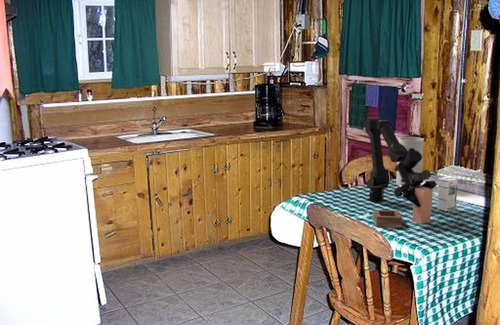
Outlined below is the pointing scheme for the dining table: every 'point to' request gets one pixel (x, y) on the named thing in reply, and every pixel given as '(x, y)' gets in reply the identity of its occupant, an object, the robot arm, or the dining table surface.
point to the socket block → (387, 218)
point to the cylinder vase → (408, 143)
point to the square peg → (423, 205)
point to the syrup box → (447, 193)
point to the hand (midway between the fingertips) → (424, 205)
